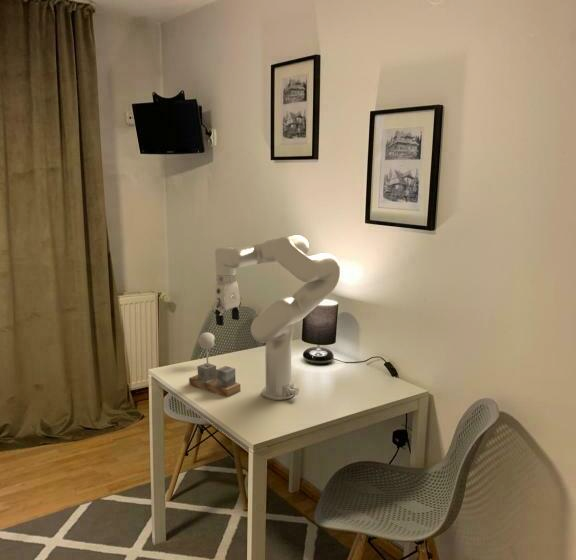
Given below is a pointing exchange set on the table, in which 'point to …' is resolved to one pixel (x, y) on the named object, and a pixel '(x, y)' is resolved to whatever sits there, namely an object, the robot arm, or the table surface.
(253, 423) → the table surface
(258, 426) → the table surface
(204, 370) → the dice cube
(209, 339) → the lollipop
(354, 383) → the table surface
